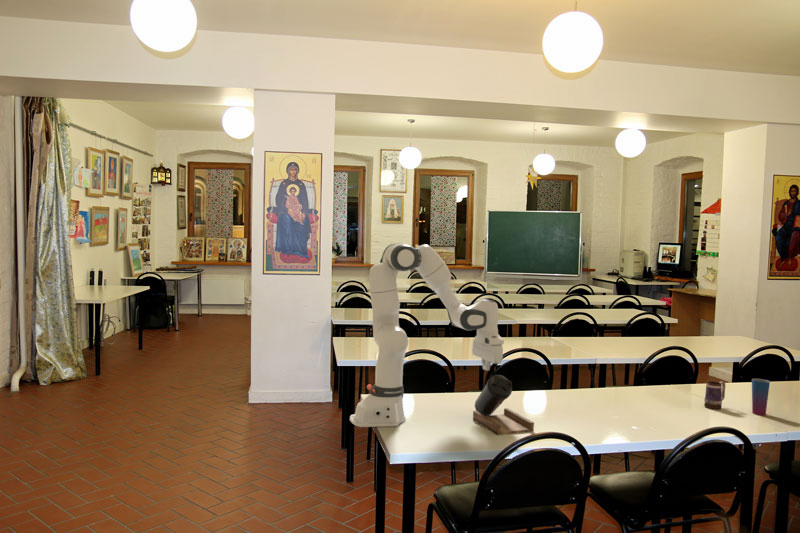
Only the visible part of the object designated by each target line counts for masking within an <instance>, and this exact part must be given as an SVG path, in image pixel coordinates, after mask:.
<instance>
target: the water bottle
mask: <svg viewBox="0 0 800 533" xmlns="http://www.w3.org/2000/svg"><path fill="white" fill-rule="evenodd" d="M512 393H513V382H512V381H511V380H510V379H508V378H507V377H505V376H504V375H501V374H494V375H492V376H490V377H489V378H488V380H487V381H486V384H485V386H484V388H483V389H482V390H481V392H480V394H479V396H478V397H477V399H476V400H475V403H474V408H475V411H478V412H479V413H481V414H483V415H484V416H490V415H493V413H494V412H495V411H496V410H498V408H499V407H500V406H501V405H502V404H503V403H504V401H505V400H507V399H508V398H509V397H510V396H511V395H512Z"/></svg>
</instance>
